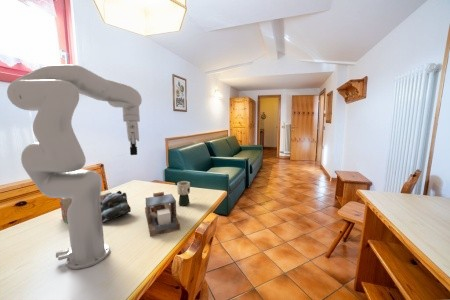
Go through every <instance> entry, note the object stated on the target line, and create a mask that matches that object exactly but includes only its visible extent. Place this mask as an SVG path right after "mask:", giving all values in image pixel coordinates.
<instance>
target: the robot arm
mask: <svg viewBox="0 0 450 300" xmlns="http://www.w3.org/2000/svg"><path fill="white" fill-rule="evenodd" d="M6 93H7V94H6V95H7V98H8V100H9V101H10V103H11V104H13V106H15V107H17V108H19V109H21V110H24V111H33V112H34V111H36V112H37V113H36V115H35V117H34V120H33V123H32V131H33V134H34V136H35V138H36V140H37V142H33V143H30V144H28V145H27V146H26V147H25V148H24V149H23V150H22V152H21V159H20V160H21V162H20V163H21V166H22V167H23V170H24V171H25V172H26V173H27V175H28V176H29V178H30V180H31V181H32V182H33V184H34V185H35V186H36V188H37V189H38V190H39V192H40V193H42V194H43V195H44V196H45V197H47V198H52V199H60V198H72V203H71V205H70V206H69V208H68V211H67V220H68V222H67V227H68V234H69V236H68V237H69V242H70V243H69V244H70V247H69V248H67V249H63V250H58V251H56V252H55V258H56V259H57V260H58V261H62V260H66V266H67V268H69V269H71V270H72V269H73V270H81V269H82V270H83V269H86V268H89V267H92V266H95V265H97V264H99V263H100V262H102V261H103V260H104V259H105V258H107V256H109V253H110V251H111V250H110V249H111V248H110V246H109V245H108V244H107V243H105V239H104V238H105V237H104V229H103V228H104V227H103V223H102V215H101V201H100V197H101V192H102V188H103V187H102V186H103V178H102V177H101V175H100V173H99V172H97V171H95V170H93V169H92V170H91V169H83V168H84V166H85V165H86V162H87V161H86V156H85V153H84V150H83V148H82V146H81V144H80V141H78V138H77V135H76V134H75V131H74V128H73V125H72V120H73V119H72V118H73V115H74V113H75V110H76V108H77V107H78V104H79V101H80V95H82V96H83V95H84V96H85V97H89V98H91V99H94V100H97V101H102V102H107V103H108V104H109V105H110V106H111V107H114V108H122V118H123V119H122V121H123V122H124V123H125V125H126V133H127V134H126V135H127V140H128V142H129V143H130V145H129V146H130V147H129V150H130V153H129V154H130V156H137V155H138V147H137V142H140V134H139V133H140V132H139V122H141V117H140V106H141V104H142V102H143V101H142V100H143V99H142V95H141V94H140V92H139V91H138V90H137V89H135V88H134V87H131V86H130V85H127V84H124V83H121V82H116V81H113V80H110V79H105V78H103V77H102V76H99V75H98V74H96V73H94V72H93V71H91V70H89V69H87V68H85V67H83V66H81V65H78V64H68V63H67V64H47V65H45V66H41V67H39V68H37V69H35V70H32V71H31V72H29V73H27V74H24V75H22V76H20V77H18V78H17V79H15V80H13V81H12V82H11V83H10V84H9V85H8V87H7V90H6Z"/></svg>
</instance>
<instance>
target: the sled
mask: <svg viewBox="0 0 450 300" xmlns="http://www.w3.org/2000/svg"><path fill="white" fill-rule="evenodd" d="M152 195H153V196H152V197H155V196H161V195H165V192H164V191H162V192H153V193H152ZM162 209H165V207H164V204H163V205H158V206H154V212H157V210H162ZM171 221H172V223H168V224H163V225H158V226H157V224H156V222H157V217H156V218H153V224H154V228H155V232H156V231H161V230H165V229H169V228H174V227H176V221H175V219H174V217H173V215H172V214H171Z"/></svg>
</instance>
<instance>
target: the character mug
mask: <svg viewBox="0 0 450 300" xmlns="http://www.w3.org/2000/svg"><path fill="white" fill-rule="evenodd" d="M176 184H177V185H176V186H177V188H176V189H177V195H179V197H178V198H179V199H178V205H180V206H188V205H190V197H189V194H190V193H191V182H190V181H187V180H183V181H182V180H181V181H178V182H177V183H176Z"/></svg>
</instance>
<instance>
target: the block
mask: <svg viewBox="0 0 450 300" xmlns="http://www.w3.org/2000/svg"><path fill="white" fill-rule="evenodd" d="M157 222H158V225H163V224H168V223H171V214H170V211H169V209H168V208H167V209H162V210H157Z"/></svg>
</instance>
